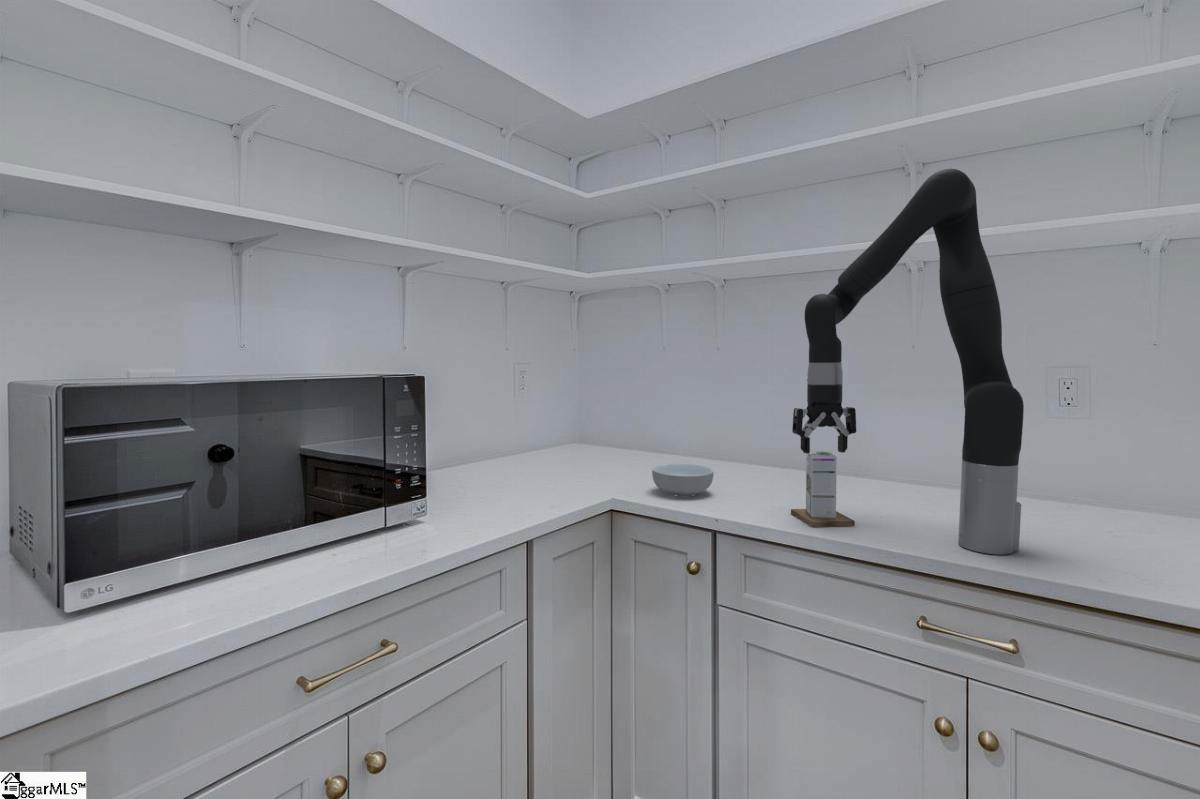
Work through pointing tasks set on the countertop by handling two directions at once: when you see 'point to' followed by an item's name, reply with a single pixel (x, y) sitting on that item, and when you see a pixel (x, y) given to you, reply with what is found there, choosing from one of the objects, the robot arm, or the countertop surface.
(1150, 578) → the countertop surface
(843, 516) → the walnut board
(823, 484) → the syrup box
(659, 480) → the cereal bowl
